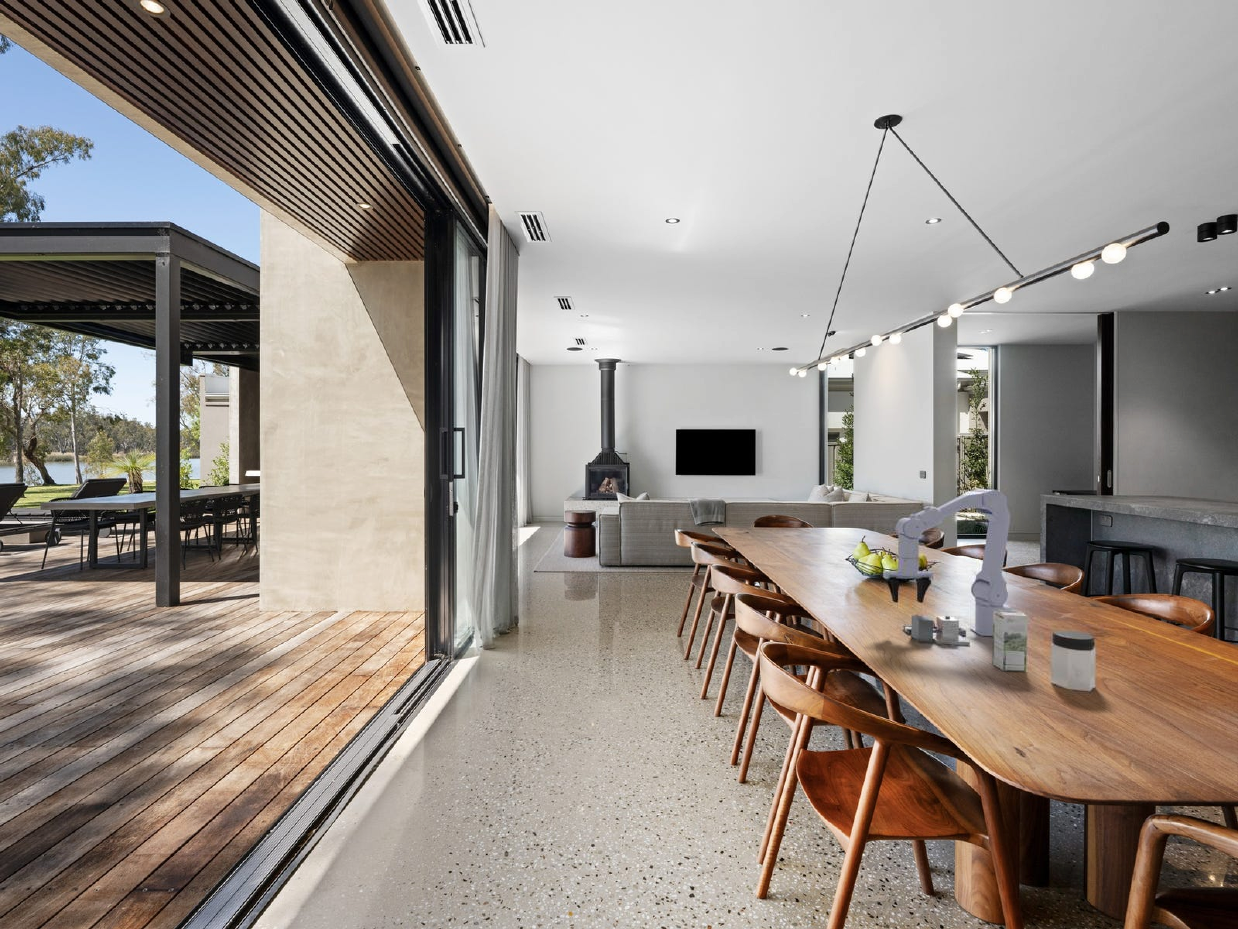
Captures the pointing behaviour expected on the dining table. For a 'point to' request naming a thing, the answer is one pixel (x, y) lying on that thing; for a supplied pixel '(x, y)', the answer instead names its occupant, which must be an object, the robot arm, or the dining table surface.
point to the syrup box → (1010, 640)
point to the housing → (947, 627)
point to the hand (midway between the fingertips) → (907, 602)
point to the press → (931, 632)
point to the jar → (1073, 660)
